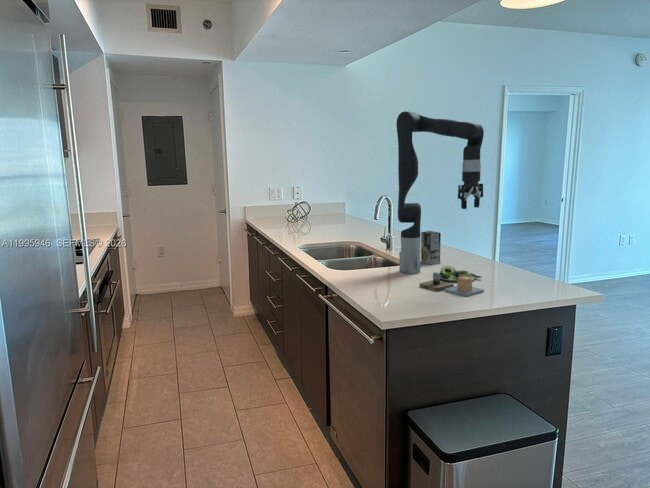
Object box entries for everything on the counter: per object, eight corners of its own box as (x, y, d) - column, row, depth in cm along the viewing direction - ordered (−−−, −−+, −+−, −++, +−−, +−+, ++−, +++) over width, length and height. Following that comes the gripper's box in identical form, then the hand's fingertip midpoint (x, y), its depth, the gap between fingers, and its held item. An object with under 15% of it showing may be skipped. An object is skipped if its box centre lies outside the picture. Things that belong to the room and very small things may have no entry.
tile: (444, 291, 195) (444, 288, 195) (461, 286, 201) (461, 284, 201) (466, 297, 186) (466, 294, 186) (483, 292, 192) (484, 289, 192)
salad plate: (485, 276, 218) (485, 267, 217) (476, 286, 203) (477, 275, 202) (443, 272, 227) (443, 263, 227) (432, 281, 212) (432, 271, 211)
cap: (465, 292, 189) (465, 280, 188) (454, 289, 194) (454, 277, 193) (474, 289, 192) (475, 278, 191) (464, 286, 197) (464, 275, 196)
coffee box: (440, 263, 246) (441, 232, 244) (430, 264, 244) (430, 233, 241) (430, 260, 255) (431, 230, 252) (420, 261, 252) (420, 231, 250)
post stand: (419, 286, 203) (419, 273, 202) (435, 282, 208) (435, 269, 207) (437, 291, 195) (437, 277, 193) (453, 287, 200) (453, 273, 199)
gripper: (467, 171, 197) (466, 210, 199) (489, 170, 205) (487, 207, 207) (453, 171, 203) (452, 208, 205) (474, 170, 211) (473, 206, 213)
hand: (470, 208), depth 206 cm, fingers open, 8 cm apart
